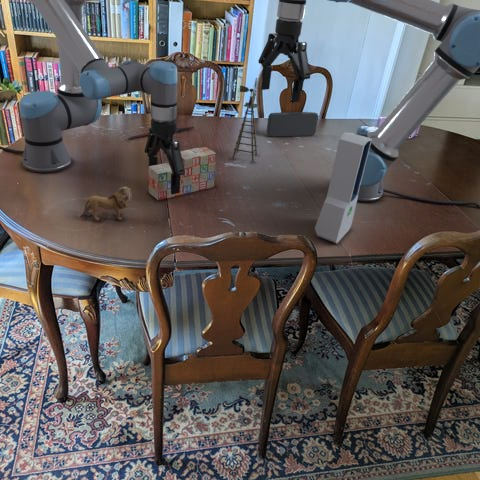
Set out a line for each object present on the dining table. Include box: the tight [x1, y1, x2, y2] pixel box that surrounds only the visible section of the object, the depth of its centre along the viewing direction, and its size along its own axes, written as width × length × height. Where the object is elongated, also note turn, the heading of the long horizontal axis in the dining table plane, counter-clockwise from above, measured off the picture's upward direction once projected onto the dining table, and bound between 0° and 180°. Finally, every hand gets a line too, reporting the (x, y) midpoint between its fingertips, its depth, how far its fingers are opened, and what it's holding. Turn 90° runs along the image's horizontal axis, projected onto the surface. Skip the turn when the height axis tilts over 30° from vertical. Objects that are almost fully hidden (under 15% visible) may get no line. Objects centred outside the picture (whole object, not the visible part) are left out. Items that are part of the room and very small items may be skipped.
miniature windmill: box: [231, 77, 259, 163], centre depth 172 cm, size 9×8×30 cm
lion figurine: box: [79, 186, 133, 222], centre depth 132 cm, size 15×5×9 cm, turn 110°
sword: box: [128, 126, 195, 140], centre depth 193 cm, size 31×3×1 cm, turn 126°
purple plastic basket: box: [375, 116, 422, 139], centre depth 219 cm, size 20×12×7 cm, turn 109°
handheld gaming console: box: [266, 111, 319, 137], centre depth 203 cm, size 23×3×10 cm, turn 108°
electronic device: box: [314, 131, 372, 245], centre depth 130 cm, size 12×8×30 cm, turn 148°
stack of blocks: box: [147, 146, 217, 201], centre depth 149 cm, size 21×6×12 cm, turn 128°
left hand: (164, 184), depth 147 cm, fingers open, 13 cm apart
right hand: (279, 95), depth 142 cm, fingers open, 13 cm apart
